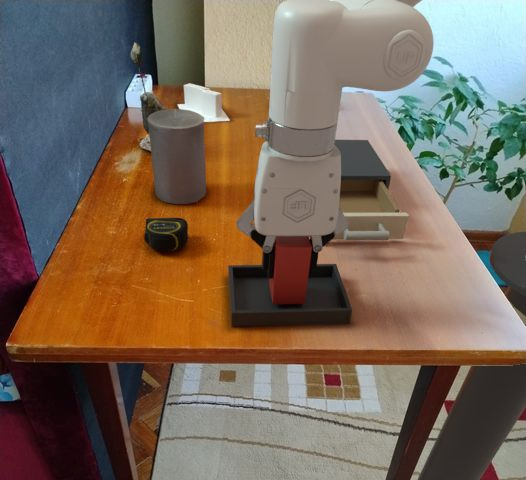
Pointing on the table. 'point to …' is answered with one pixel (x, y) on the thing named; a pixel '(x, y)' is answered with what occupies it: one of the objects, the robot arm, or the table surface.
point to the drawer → (370, 211)
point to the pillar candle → (178, 155)
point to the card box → (290, 269)
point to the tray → (267, 314)
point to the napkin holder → (203, 103)
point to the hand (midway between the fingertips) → (288, 271)
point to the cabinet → (361, 162)
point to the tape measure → (166, 233)
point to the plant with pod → (145, 99)
